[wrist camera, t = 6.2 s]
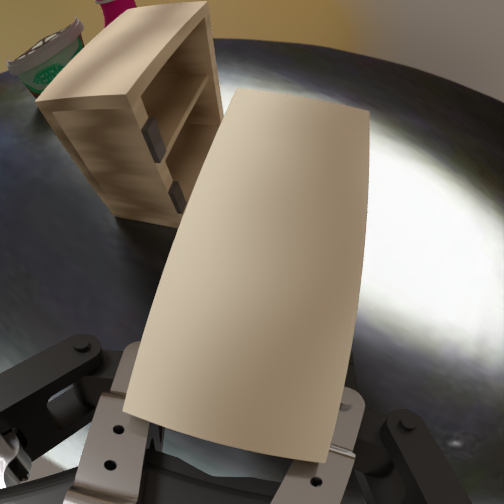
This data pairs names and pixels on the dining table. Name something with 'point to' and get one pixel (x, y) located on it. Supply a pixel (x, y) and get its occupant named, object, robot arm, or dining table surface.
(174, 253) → the door
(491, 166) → the dining table surface
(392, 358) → the dining table surface
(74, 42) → the food container
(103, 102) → the cabinet
